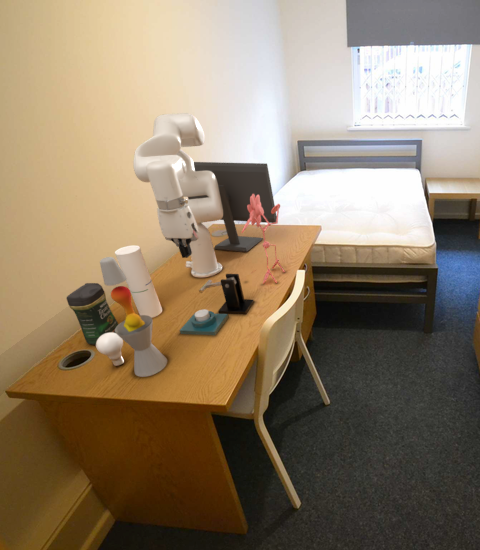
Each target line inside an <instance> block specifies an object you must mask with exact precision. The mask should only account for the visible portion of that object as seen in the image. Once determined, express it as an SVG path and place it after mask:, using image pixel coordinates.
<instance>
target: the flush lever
mask: <svg viewBox="0 0 480 550" xmlns="http://www.w3.org/2000/svg"><path fill="white" fill-rule="evenodd" d="M227 279H229V280H234V283H235V284H236V283H237V282H236V280H235V277H230V278H227ZM220 286H222V285H221V281H216V282H213V280H212V279H207V281H206V282H205V283H204V284H203V286H202V287H200V288H199V289H198V292H199V294H203V293H204V292H205V291H206V290H207V289H210V288H214V287H220Z"/></svg>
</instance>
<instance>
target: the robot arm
mask: <svg viewBox="0 0 480 550" xmlns="http://www.w3.org/2000/svg"><path fill="white" fill-rule="evenodd" d="M205 141H206V135H205V131H204V129H203V127H202V125H201V123H200V121H199V119H197V117H196V116H195V115H194V114H192V113H189V112H179V113H164V114H160V115H158V116H157V117H155V119H154V121H153V129H152V137H149V138H148V139H146V140H144V142H142V143H141V144H139V145H138V146H137V147H136V149H135V151H134V155H133V161H132V163H133V172H134V175H135V177H136V178H137V179H138V180H139V181H141V182H143V183H150V186H151V189H152V192H153V196H154V198H155V202H156V205H157V208H156V210H157V211H156V212H157V220H158V224H159V227H160V231H161V234H162V236H163V237H164V239H165V240H166V241H170V242H172V243H173V244H175V246H176V247H178V250H179V253H180V255H181V257H182V259H183V258H185V259H187V258H190V259H191V260H186V261H185V268H188V269H191V271H190V273H191V276H193V277H194V278H199V279H200V278H201V279H202V278H209V277H213V276H215V275H218V274H219V273H220V272H221V271H222V270H223V265H222V264H221V263H220V262H218V261H217V260H218V259H217V256H216V252H215V249H214V244H213V240H212V237H211V232H210V230H209V229H208V228H207V227H206V226H205V225H204V224H203V223H209V222H210V223H211V222H216V221H217V222H218V221H221V220H220V219H222V217H223V208H222V202H221V197H220V192H219V187H218V183H217V179H216V177H215V175H214V173H212V172H211V171H195V168H194V162H195V161H194V160H193V158H192V157H191V155H189V154H188V153H187V152H185V151H184V150H183V149H182V148H190V147H200V146H203V145H204V143H205ZM202 195H207V196H208V198H199V199H188V197H192V196H202ZM185 198H187V199H185Z"/></svg>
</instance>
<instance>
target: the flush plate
mask: <svg viewBox="0 0 480 550" xmlns="http://www.w3.org/2000/svg"><path fill="white" fill-rule="evenodd" d="M208 311H209V314H210V318H209V319H207V320H205V321H202V322H198V321H196V318H195V313H196V312H194V313H193V314H192V315H191V317H190V318H189V319H188V320H187V321H186V323H184V324H183V326H181V328H180V329H179V332H180V335H193V336H194V335H195V336H196V335H197V336H199V335H200V336H216V335H218V333H219V332H220V330H221V328H222V327H223V326H224V324H225V323H226V322H227V320H228V319H229V314H219V313H214V311H211V310H208Z"/></svg>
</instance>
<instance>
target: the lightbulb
mask: <svg viewBox="0 0 480 550" xmlns="http://www.w3.org/2000/svg"><path fill="white" fill-rule="evenodd" d="M95 347H96V349H97V350H96V351H98V353H100V354H102V355H104V356H106V357H107V358H108V359H109V360H110V361H111V363H112V364H113V366H115V367H118V366H121V365H122V364H124V363H125V360H124V358H123V356H122V349H123V347H124V340H123V339H122V338H121V337H119V336H118V335H117V334H116V333H113V332H109V333H105V334H103V335H101V336H100V337H99V338H98V340H97V342H96V345H95Z"/></svg>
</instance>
